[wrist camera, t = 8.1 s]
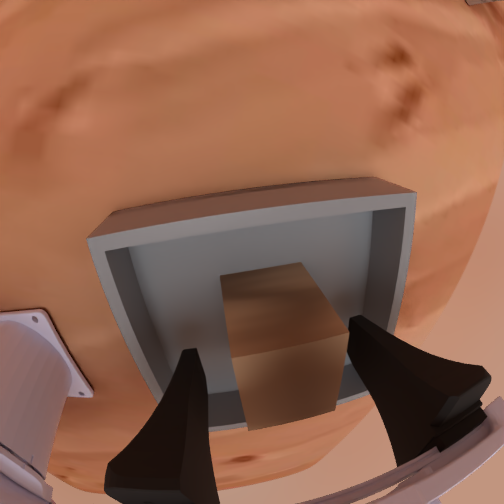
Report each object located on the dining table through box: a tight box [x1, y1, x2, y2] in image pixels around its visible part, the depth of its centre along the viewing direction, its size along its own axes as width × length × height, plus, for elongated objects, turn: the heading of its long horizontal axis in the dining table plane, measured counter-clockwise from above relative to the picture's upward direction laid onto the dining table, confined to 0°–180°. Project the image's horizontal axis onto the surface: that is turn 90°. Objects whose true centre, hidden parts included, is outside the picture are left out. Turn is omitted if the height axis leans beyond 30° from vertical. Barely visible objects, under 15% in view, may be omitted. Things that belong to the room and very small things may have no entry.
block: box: [220, 262, 350, 431], centre depth 12 cm, size 4×5×6 cm
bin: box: [86, 177, 417, 432], centre depth 14 cm, size 13×13×4 cm
